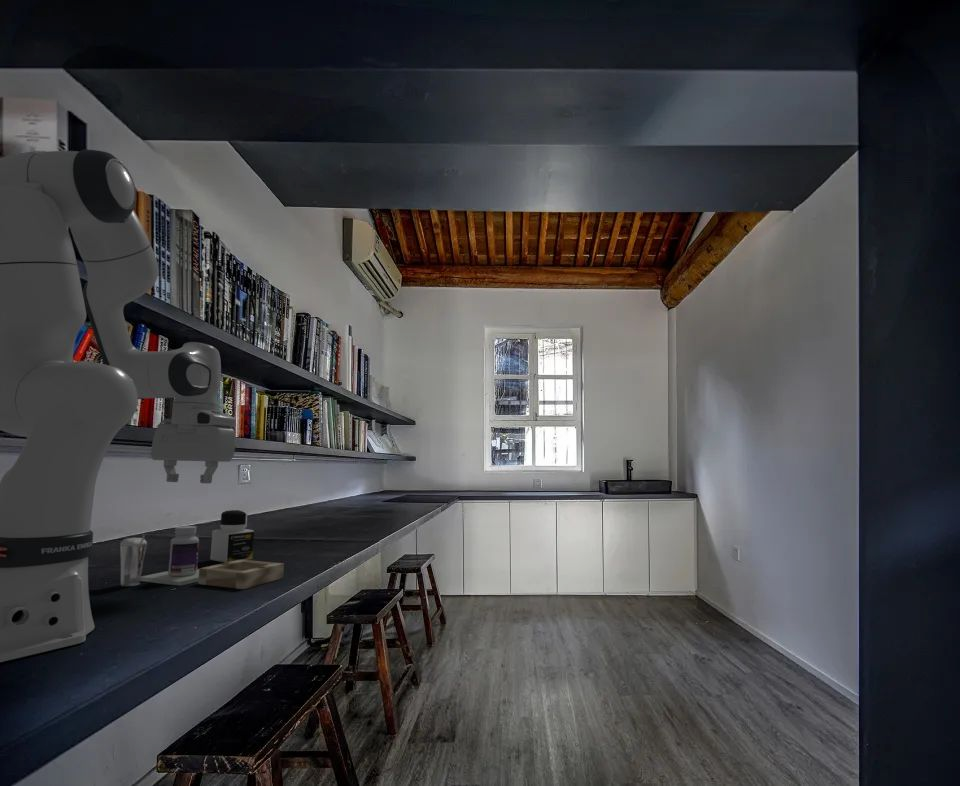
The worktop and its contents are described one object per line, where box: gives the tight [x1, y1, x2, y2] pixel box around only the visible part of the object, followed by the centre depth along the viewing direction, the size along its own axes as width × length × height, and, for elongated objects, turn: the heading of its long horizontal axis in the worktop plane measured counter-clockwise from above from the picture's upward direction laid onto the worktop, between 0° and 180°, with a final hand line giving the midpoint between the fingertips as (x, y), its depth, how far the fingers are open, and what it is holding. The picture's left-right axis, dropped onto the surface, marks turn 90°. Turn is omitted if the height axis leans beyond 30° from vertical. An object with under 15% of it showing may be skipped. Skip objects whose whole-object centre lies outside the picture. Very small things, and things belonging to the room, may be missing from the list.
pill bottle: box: [167, 525, 200, 576], centre depth 120 cm, size 5×5×10 cm
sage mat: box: [140, 568, 199, 587], centre depth 119 cm, size 11×11×1 cm
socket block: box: [197, 559, 285, 590], centre depth 118 cm, size 12×12×3 cm
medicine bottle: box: [209, 509, 255, 563], centre depth 142 cm, size 7×7×12 cm
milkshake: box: [119, 533, 148, 587], centre depth 113 cm, size 4×5×10 cm
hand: (188, 482), depth 121 cm, fingers open, 8 cm apart
